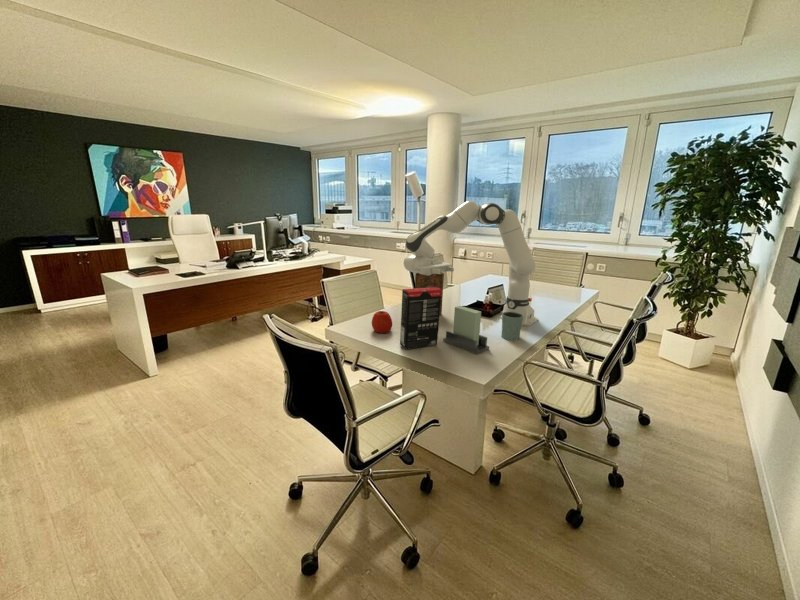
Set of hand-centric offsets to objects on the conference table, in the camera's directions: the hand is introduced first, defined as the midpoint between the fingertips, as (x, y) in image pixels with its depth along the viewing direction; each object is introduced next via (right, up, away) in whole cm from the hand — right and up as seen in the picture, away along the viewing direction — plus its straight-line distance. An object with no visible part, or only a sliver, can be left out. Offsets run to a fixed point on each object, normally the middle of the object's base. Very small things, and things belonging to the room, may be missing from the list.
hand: (446, 270), depth 170 cm
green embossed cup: (+32, -33, +1) cm, 46 cm away
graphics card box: (-14, -36, -12) cm, 40 cm away
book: (-6, -23, +36) cm, 44 cm away
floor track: (+7, -36, -10) cm, 38 cm away
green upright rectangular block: (+7, -34, -11) cm, 37 cm away
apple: (-33, -31, +6) cm, 45 cm away
